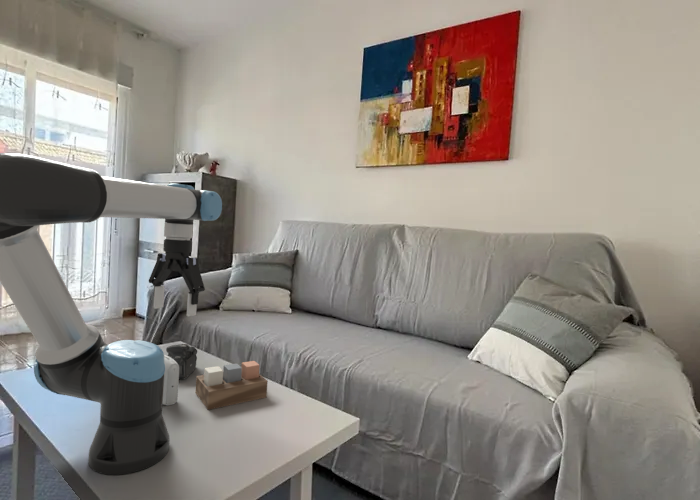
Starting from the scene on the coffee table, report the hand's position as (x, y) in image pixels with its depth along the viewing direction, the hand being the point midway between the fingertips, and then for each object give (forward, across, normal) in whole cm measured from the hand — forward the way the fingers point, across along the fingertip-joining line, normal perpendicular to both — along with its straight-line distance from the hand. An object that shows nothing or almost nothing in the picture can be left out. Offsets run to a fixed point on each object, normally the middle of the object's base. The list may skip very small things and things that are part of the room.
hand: (174, 311), depth 115 cm
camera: (+24, +8, -11) cm, 27 cm away
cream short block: (+20, -13, -3) cm, 24 cm away
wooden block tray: (+24, -16, -8) cm, 29 cm away
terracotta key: (+20, -18, -13) cm, 30 cm away
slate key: (+20, -16, -8) cm, 27 cm away
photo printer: (+24, -3, +5) cm, 24 cm away
